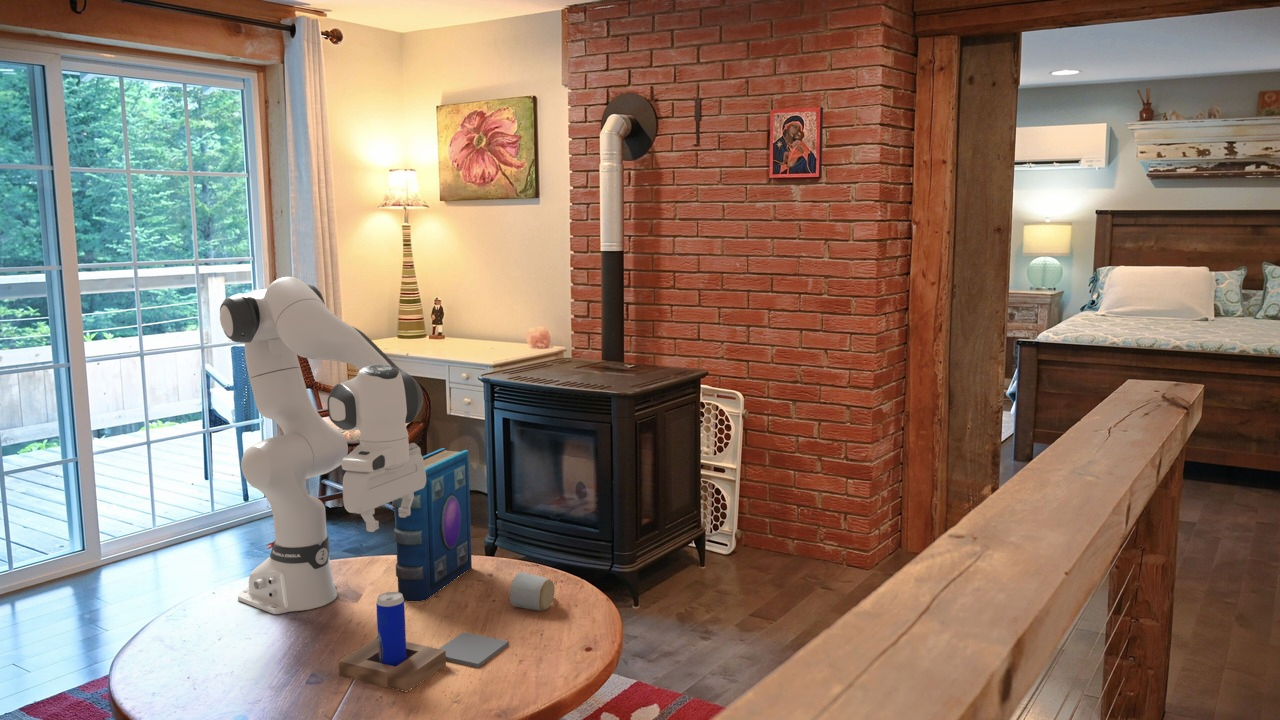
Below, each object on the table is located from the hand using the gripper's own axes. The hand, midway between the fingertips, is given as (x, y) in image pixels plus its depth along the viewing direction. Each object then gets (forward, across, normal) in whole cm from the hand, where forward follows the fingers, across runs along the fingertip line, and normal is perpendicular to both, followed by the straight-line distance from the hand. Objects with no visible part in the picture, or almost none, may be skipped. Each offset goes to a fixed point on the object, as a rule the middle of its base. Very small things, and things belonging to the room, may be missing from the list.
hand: (389, 523), depth 181 cm
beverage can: (+29, +1, 0) cm, 29 cm away
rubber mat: (+29, -12, +9) cm, 33 cm away
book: (+29, -39, -19) cm, 52 cm away
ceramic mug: (+29, -37, +9) cm, 48 cm away
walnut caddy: (+29, +1, 0) cm, 29 cm away
